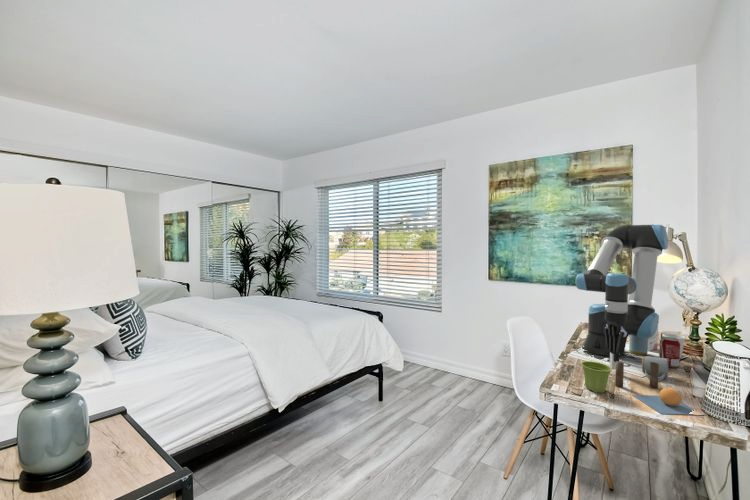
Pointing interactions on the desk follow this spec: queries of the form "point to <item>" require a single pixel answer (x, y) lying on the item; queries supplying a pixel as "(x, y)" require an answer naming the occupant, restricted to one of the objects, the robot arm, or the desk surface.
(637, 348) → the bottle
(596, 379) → the plant pot
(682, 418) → the desk surface
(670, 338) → the red labelled jar
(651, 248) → the robot arm
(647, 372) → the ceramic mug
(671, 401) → the orange round fruit
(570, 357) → the desk surface
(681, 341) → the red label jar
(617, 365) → the post
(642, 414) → the desk surface
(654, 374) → the post
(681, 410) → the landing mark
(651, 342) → the ink cartridge box
